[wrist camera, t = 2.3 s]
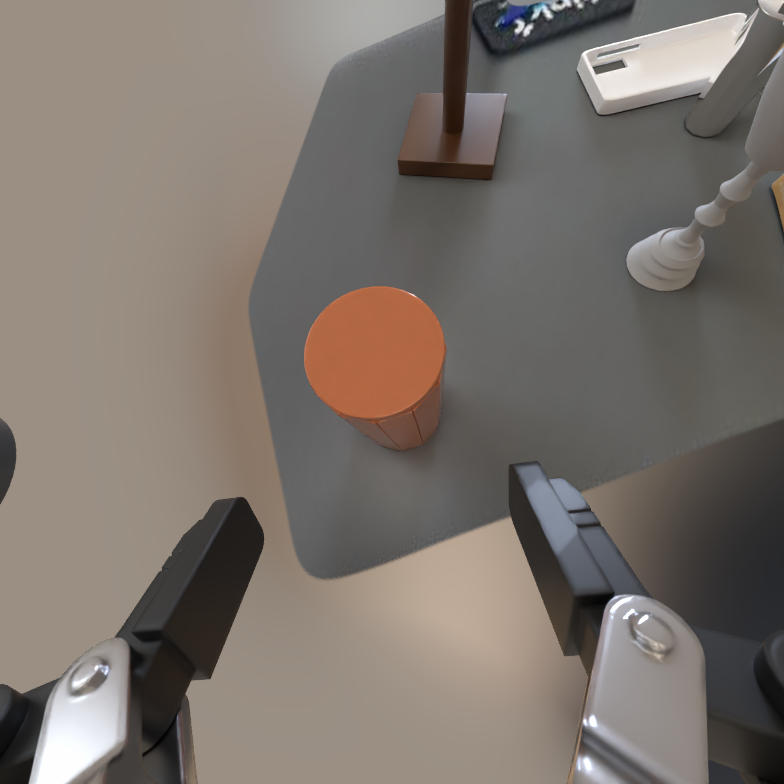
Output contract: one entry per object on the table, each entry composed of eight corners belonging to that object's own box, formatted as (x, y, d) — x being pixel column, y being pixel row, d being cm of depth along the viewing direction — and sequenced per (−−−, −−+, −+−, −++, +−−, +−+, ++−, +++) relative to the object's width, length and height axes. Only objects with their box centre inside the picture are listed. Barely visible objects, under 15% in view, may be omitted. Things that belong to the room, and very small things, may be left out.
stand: (399, 174, 32) (380, 13, 21) (417, 108, 34) (409, -68, 23) (491, 179, 30) (522, 7, 19) (504, 110, 33) (539, -79, 22)
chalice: (593, 261, 27) (879, -142, 10) (651, 213, 27) (1021, -250, 10) (671, 319, 24) (1220, -67, 7) (732, 266, 25) (1377, -210, 8)
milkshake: (659, 133, 29) (767, -36, 20) (697, 99, 30) (819, -82, 20) (706, 156, 28) (845, -12, 19) (745, 120, 29) (900, -62, 19)
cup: (353, 440, 25) (285, 402, 14) (372, 367, 27) (325, 278, 15) (431, 457, 24) (428, 432, 13) (447, 380, 25) (457, 295, 14)
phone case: (598, 117, 31) (767, 78, 30) (605, 101, 29) (782, 59, 28) (574, 68, 33) (730, 29, 32) (580, 51, 32) (743, 9, 30)
